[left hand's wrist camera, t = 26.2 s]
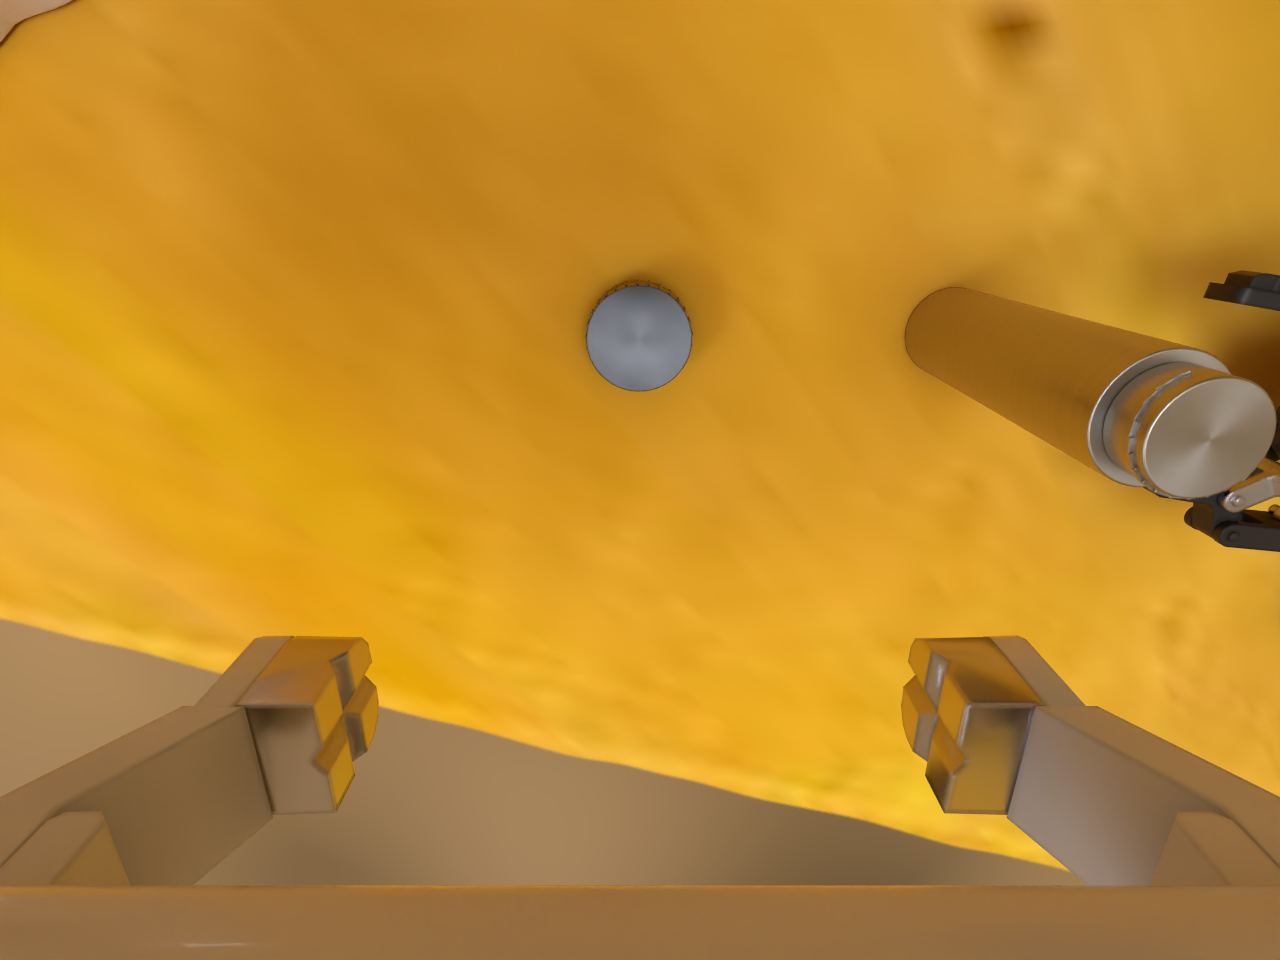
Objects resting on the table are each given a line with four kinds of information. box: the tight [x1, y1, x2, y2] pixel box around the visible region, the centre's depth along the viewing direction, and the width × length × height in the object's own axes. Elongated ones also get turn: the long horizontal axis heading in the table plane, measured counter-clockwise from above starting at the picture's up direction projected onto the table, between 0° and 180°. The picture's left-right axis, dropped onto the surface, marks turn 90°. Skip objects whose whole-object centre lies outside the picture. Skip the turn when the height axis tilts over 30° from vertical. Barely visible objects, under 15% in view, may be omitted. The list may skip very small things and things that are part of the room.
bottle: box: [905, 287, 1277, 500], centre depth 29 cm, size 5×5×19 cm
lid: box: [585, 280, 693, 391], centre depth 37 cm, size 6×6×2 cm
